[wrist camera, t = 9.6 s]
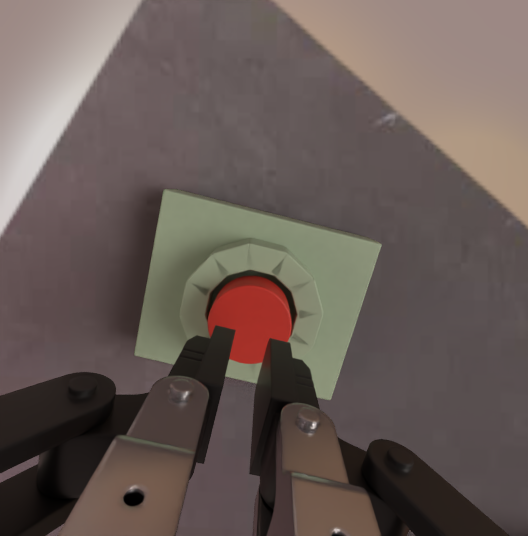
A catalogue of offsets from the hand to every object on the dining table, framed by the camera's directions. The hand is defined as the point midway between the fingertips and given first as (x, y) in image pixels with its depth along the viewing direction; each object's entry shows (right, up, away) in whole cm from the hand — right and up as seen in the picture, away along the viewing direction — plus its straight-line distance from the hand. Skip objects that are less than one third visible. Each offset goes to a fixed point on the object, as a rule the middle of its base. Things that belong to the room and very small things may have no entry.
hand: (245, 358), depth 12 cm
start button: (0, +1, +4) cm, 5 cm away
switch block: (0, +2, +8) cm, 8 cm away
